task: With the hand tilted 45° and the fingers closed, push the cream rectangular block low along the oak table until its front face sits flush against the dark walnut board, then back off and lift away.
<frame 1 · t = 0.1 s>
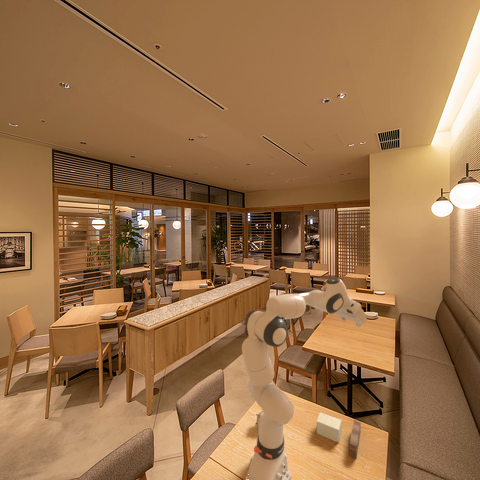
hand: (351, 323, 135), 54 cm above the table, tool tilted 30°, fingers open, 8 cm apart
cream rectangular block: (329, 433, 129), on the table
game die: (263, 427, 134), on the table
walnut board: (355, 443, 122), on the table
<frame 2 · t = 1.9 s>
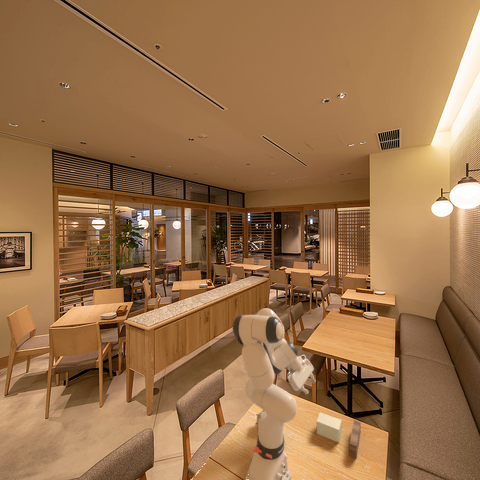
hand: (311, 387, 134), 21 cm above the table, tool tilted 45°, fingers open, 8 cm apart
nothing on the table moved.
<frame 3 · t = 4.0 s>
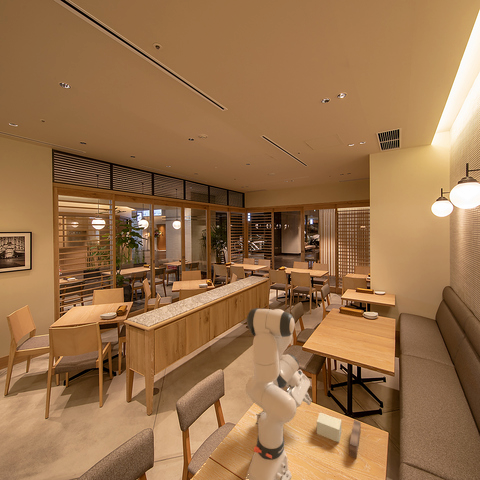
hand: (310, 402, 134), 12 cm above the table, tool tilted 45°, fingers closed
nothing on the table moved.
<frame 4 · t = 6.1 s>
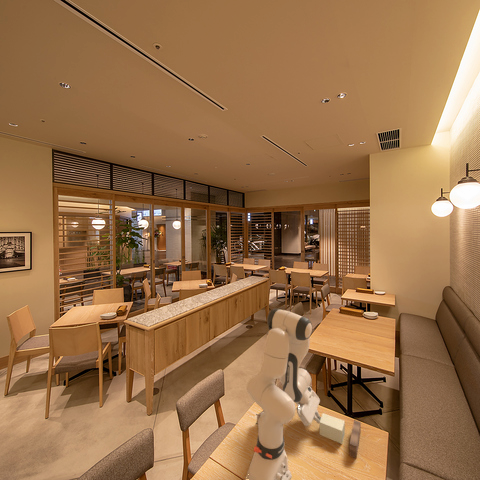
hand: (320, 421, 131), 4 cm above the table, tool tilted 45°, fingers closed
cream rectangular block: (332, 434, 128), on the table
everything else where it was.
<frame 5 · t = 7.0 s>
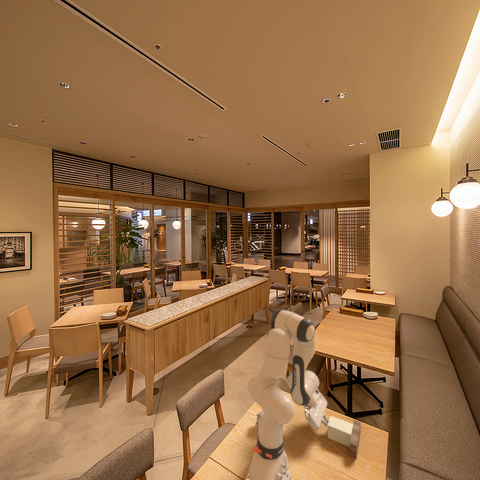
hand: (327, 424, 129), 4 cm above the table, tool tilted 45°, fingers closed, pressing on cream rectangular block
cream rectangular block: (340, 437, 126), on the table, touching gripper, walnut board
everything else where it was.
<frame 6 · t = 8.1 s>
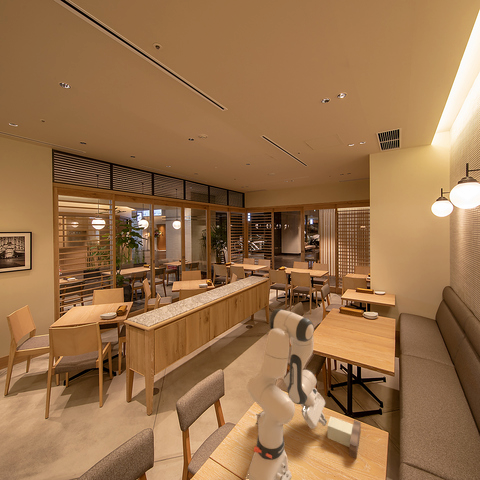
hand: (325, 423, 129), 4 cm above the table, tool tilted 45°, fingers closed
cream rectangular block: (340, 437, 126), on the table
everything else where it was.
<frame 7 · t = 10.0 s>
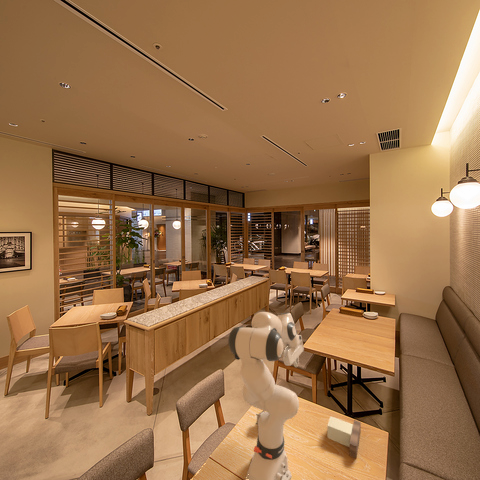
hand: (297, 366, 137), 30 cm above the table, tool tilted 15°, fingers closed
nothing on the table moved.
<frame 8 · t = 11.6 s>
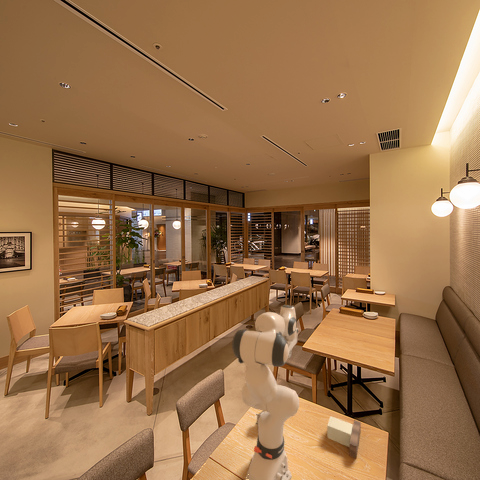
hand: (288, 356, 140), 34 cm above the table, tool pointing down, fingers closed
nothing on the table moved.
at the end: cream rectangular block 0.0 cm from the target spot on the table beside the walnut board, on the table; cream rectangular block tilted 0° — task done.
